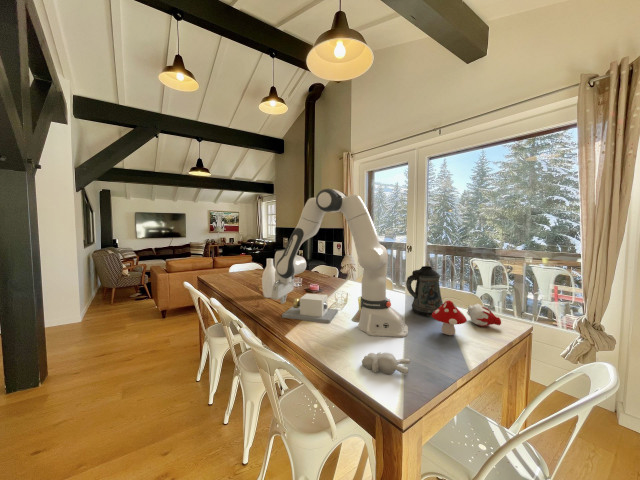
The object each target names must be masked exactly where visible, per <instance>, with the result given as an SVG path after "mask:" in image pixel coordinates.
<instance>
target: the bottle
mask: <svg viewBox="0 0 640 480" xmlns="http://www.w3.org/2000/svg"><path fill="white" fill-rule="evenodd" d="M264 268H265V269H264V270H263V273H262V277H261V286H262V287H261V288H262V295H263V297H264V299H265V298H266V299H272V287H273V285H274V283H275V265H274V258H266V266H265V267H264Z"/></svg>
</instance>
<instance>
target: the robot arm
mask: <svg viewBox="0 0 640 480" xmlns="http://www.w3.org/2000/svg"><path fill="white" fill-rule="evenodd" d="M327 213H335V214H336V213H341V214H342V215H343V217H344V218H345V221H346V224H347V226H348V228H349V232H350V233H351V237H352V239H353V242H354V246H355V247H354V248H355V251H356V254H357V258H358V263H359V265H360V266H359V267H361V268H363V270H362V272H363V273H362V276H361V277H362V278H361V296H360V303H359V305H360V316H359V322H358V325H357V327H358V329H359V330H360V331H362V332H364V333H366V334H367V335H368V336H374V337H375V336H376V337H396V338H398V337H399V338H403V337H406V336H408V334H409V327H408V325H407V324H406V323H404V320H403V317H402V315H401V314H400V313H399V312H398V311H397V310H395V309H394V308H393V307H392V302H391V300H390V298H387V274H388V273H387V272H388V259H389V258H388V255H389V253H388V250H387V248H386V247H385V246H384V245H383V244H381V243H380V240H379V238H378V237H379V236H378V233H377V230H376V227H375V224H374V221H373V219H372V217H371V215H370V212H369V210H368V208H367V206H366V205H365V202H364V201H363V199H362V198H361V196H360V195H358V194H350V195H346V194H345V192H343V191H340V190H337V189H333V188H324V189H321V190H320V191H319V192H318V193H317V194H316V197H310V198H308V199H307V201H306V202H305V205H304V207H303V208H302V212H301V214H300V218H299V220H298V222H297V225H296V227H295V228H294V230H293V231H292V233H291V235H290V236H289V237H290V238H289V239H288V241H287V244H286V246H285V247H284V248H283V249H278V250H276V252H275V254H274V268H275V283H274V285H273V287H272V298H271V299H272V300H277V301H278V300H280V304H281V305H282V304H285V303H286V302H287V301H286V300H287V297H288V294H289V293H291V292H292V291H294V288H295V287H294V286H295V281H294V279H295V276H296V275H299V274H301V273H303V272H305V271H306V270H307V266H308V265H307V261H306V259H305V257H304V256H302V255H298V252H299V250H300V248H301V246H302V244H303V243H304V242H306V241H307V240H309V239H311V238H313V237H314V236H316V235H317V234H318V232H319V230H320V227H321V226H322V225H321V224H322V222H323V219H324V216H325V215H326V214H327Z"/></svg>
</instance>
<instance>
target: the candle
mask: <svg viewBox="0 0 640 480" xmlns="http://www.w3.org/2000/svg"><path fill="white" fill-rule="evenodd" d="M466 314H467V315H468V316H469V318H470V321H471V323H473V324H475V325H477V326H478V327H483V328H485V327H488V326H491V325H497V326H500V325H502V321H501V318H500V317H499V316H496V315H495V314H494V313H493V312H492V311H491V310H490V309H488V307H487V306H485V305H482V304H479V303H475V304H473V305H471V304H469V305H468V306H467V312H466Z"/></svg>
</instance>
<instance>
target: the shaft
mask: <svg viewBox="0 0 640 480" xmlns="http://www.w3.org/2000/svg"><path fill="white" fill-rule="evenodd" d="M292 307H294V308H299V307H300V298H297V297H296V298H294V299H293V302H292ZM327 308H328V302H327V303H324V309H327Z"/></svg>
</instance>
